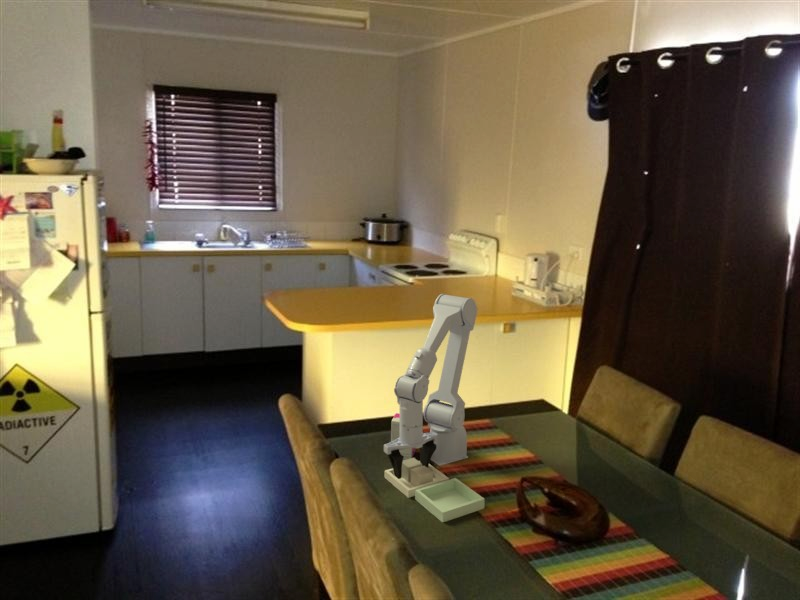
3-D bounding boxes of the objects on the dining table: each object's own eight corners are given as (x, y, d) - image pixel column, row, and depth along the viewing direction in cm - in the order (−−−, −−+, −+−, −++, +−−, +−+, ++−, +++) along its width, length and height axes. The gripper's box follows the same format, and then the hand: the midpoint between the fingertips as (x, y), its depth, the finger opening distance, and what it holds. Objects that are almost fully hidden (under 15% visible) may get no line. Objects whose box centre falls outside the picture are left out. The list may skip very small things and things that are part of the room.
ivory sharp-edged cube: (424, 480, 171) (424, 465, 170) (433, 487, 168) (433, 472, 167) (410, 484, 169) (410, 469, 168) (419, 491, 166) (419, 476, 165)
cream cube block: (413, 471, 175) (413, 457, 174) (422, 478, 172) (422, 463, 171) (400, 475, 173) (400, 461, 172) (408, 482, 170) (408, 467, 169)
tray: (423, 468, 178) (423, 459, 178) (448, 487, 169) (448, 478, 168) (384, 479, 173) (384, 470, 172) (408, 500, 163) (408, 490, 162)
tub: (455, 488, 168) (455, 477, 167) (484, 510, 158) (484, 498, 157) (415, 501, 162) (415, 490, 162) (442, 524, 152) (442, 512, 152)
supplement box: (411, 463, 181) (411, 423, 179) (390, 461, 182) (389, 421, 180) (415, 453, 187) (415, 414, 184) (394, 451, 188) (394, 412, 185)
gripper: (393, 435, 162) (393, 487, 165) (444, 422, 169) (443, 472, 172) (379, 424, 168) (379, 475, 171) (429, 412, 175) (428, 461, 178)
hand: (411, 473), depth 172 cm, fingers open, 7 cm apart
